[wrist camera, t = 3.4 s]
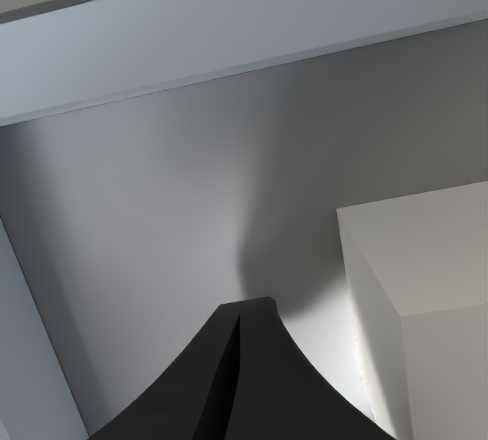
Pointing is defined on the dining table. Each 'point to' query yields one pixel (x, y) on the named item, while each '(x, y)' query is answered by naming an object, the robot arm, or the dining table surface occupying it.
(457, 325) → the cube
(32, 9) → the crook tool
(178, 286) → the dining table surface
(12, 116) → the pale blue square frame
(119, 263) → the dining table surface
